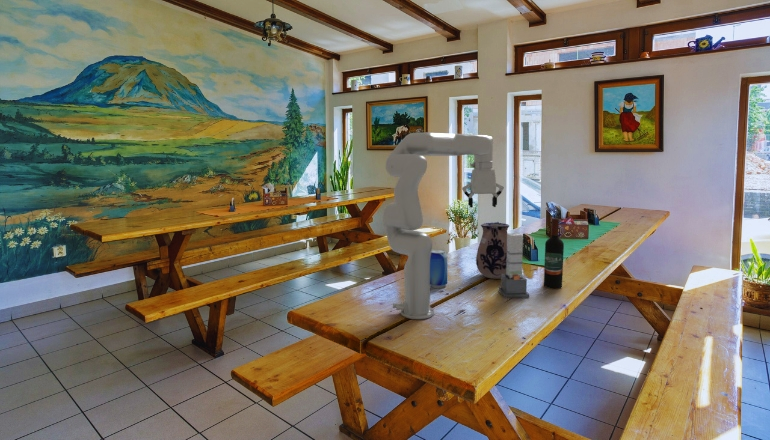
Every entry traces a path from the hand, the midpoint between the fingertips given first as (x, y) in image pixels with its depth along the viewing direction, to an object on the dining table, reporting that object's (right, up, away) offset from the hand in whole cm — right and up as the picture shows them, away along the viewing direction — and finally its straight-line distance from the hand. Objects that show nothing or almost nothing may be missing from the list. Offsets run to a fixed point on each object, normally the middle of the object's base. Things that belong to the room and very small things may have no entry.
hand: (482, 206), depth 194 cm
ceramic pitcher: (+11, -32, +26) cm, 43 cm away
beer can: (-17, -35, +13) cm, 41 cm away
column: (+13, -29, -2) cm, 32 cm away
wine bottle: (+33, -35, +9) cm, 48 cm away
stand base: (+13, -37, 0) cm, 39 cm away
